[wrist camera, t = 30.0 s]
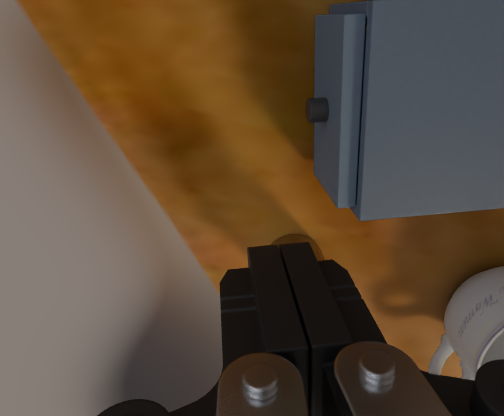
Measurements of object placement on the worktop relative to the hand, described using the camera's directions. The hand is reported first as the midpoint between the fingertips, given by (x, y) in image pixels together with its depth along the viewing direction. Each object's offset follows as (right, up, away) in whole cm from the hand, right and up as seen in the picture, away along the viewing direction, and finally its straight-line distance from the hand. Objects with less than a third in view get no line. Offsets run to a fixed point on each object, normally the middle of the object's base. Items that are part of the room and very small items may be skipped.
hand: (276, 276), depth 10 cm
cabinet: (+12, +11, +22) cm, 27 cm away
